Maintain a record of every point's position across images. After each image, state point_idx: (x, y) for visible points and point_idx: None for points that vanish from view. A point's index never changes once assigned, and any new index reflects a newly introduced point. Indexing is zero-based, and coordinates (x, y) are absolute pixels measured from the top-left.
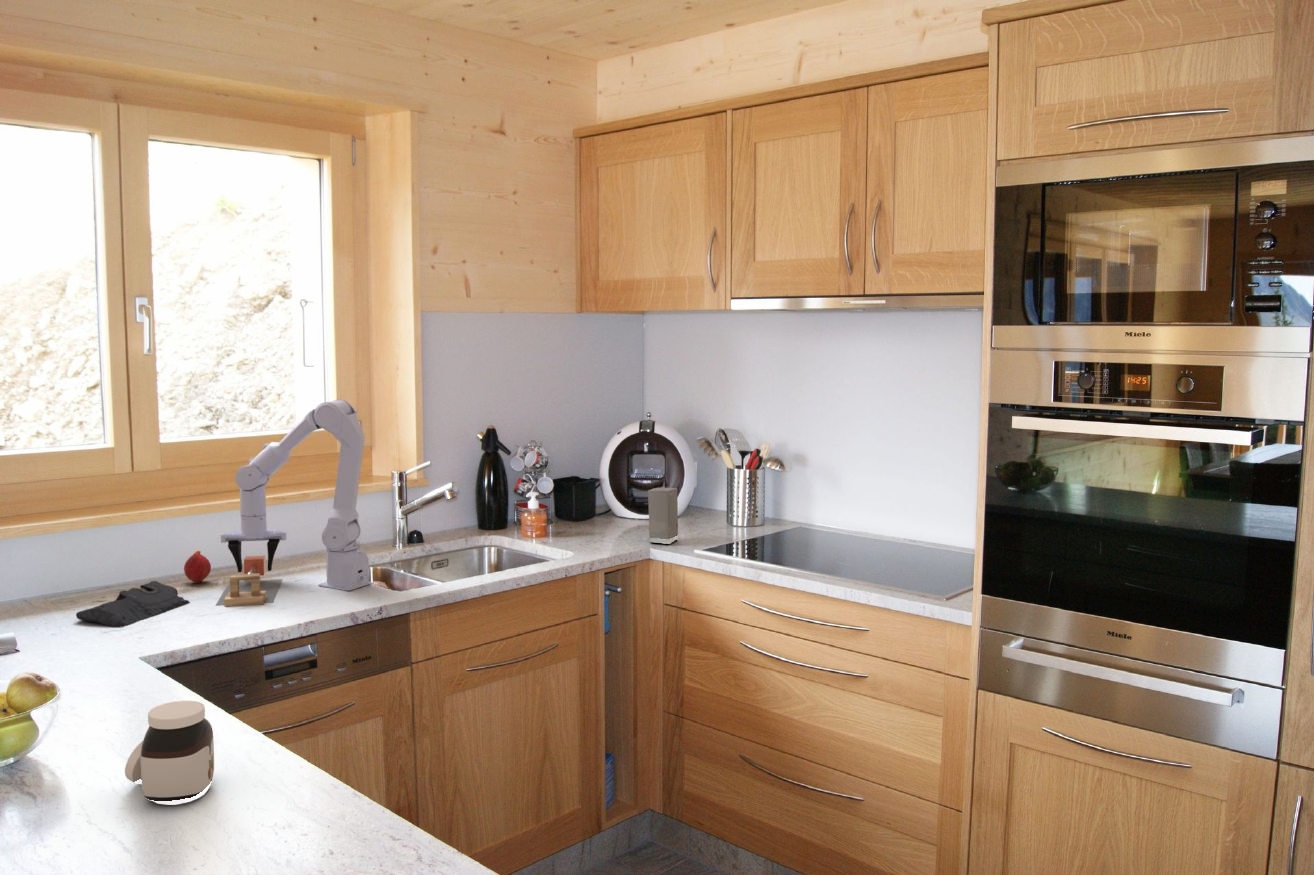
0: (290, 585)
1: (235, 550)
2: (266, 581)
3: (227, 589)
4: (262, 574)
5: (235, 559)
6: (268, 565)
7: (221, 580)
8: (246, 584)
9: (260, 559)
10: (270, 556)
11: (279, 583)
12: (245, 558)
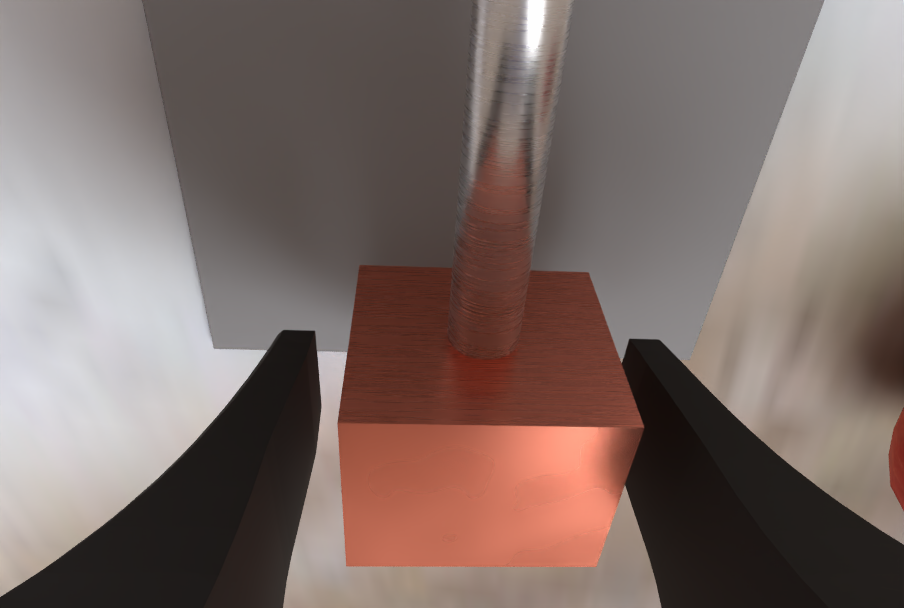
0: (47, 103)
1: (854, 569)
2: (355, 291)
3: (781, 33)
4: (376, 273)
5: (764, 449)
6: (289, 368)
7: (738, 417)
8: (550, 218)
9: (386, 418)
10: (220, 462)
11: (195, 184)
12: (611, 486)
